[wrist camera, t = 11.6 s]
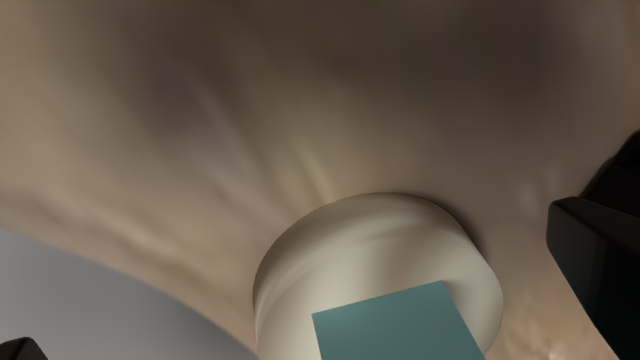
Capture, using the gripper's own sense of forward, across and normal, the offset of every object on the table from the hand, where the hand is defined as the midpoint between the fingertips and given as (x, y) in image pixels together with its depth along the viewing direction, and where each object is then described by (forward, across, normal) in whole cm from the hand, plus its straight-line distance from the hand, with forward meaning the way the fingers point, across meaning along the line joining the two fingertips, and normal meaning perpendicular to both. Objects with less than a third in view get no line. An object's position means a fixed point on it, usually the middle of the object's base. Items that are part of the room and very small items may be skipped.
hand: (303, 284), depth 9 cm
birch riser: (+13, -3, +14) cm, 19 cm away
